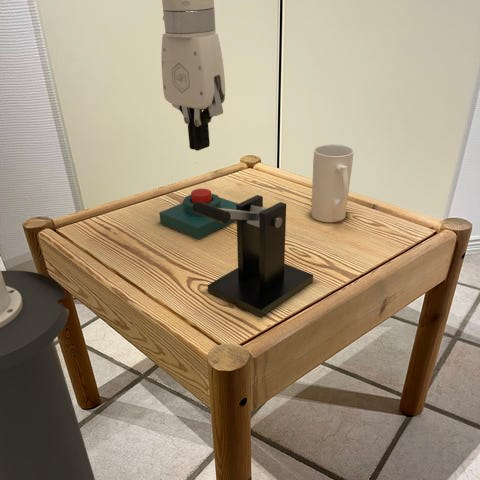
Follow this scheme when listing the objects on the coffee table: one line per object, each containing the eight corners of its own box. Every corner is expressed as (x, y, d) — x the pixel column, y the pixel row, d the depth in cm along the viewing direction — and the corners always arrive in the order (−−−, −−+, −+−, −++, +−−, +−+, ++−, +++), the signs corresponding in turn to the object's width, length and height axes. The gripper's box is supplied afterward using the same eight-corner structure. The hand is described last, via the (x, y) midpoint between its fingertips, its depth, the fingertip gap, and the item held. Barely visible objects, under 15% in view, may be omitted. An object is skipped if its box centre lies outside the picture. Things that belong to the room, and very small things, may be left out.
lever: (220, 227, 59) (225, 207, 58) (190, 216, 62) (194, 196, 61) (279, 231, 68) (284, 213, 68) (251, 221, 71) (255, 204, 70)
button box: (198, 239, 88) (197, 217, 85) (160, 223, 93) (157, 203, 91) (245, 216, 95) (244, 196, 93) (206, 203, 100) (205, 183, 98)
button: (201, 207, 90) (201, 197, 89) (187, 202, 92) (186, 192, 91) (215, 200, 92) (215, 191, 91) (201, 196, 94) (201, 187, 93)
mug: (305, 210, 97) (308, 146, 90) (338, 206, 98) (344, 142, 91) (323, 233, 89) (328, 164, 82) (359, 228, 90) (368, 160, 83)
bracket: (261, 317, 68) (261, 230, 61) (207, 292, 74) (202, 208, 67) (313, 281, 76) (318, 199, 68) (261, 260, 81) (261, 182, 74)
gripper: (137, 23, 78) (154, 145, 89) (208, 29, 69) (216, 163, 80) (174, 18, 82) (185, 134, 93) (244, 23, 74) (247, 150, 85)
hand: (199, 147), depth 87 cm, fingers closed
